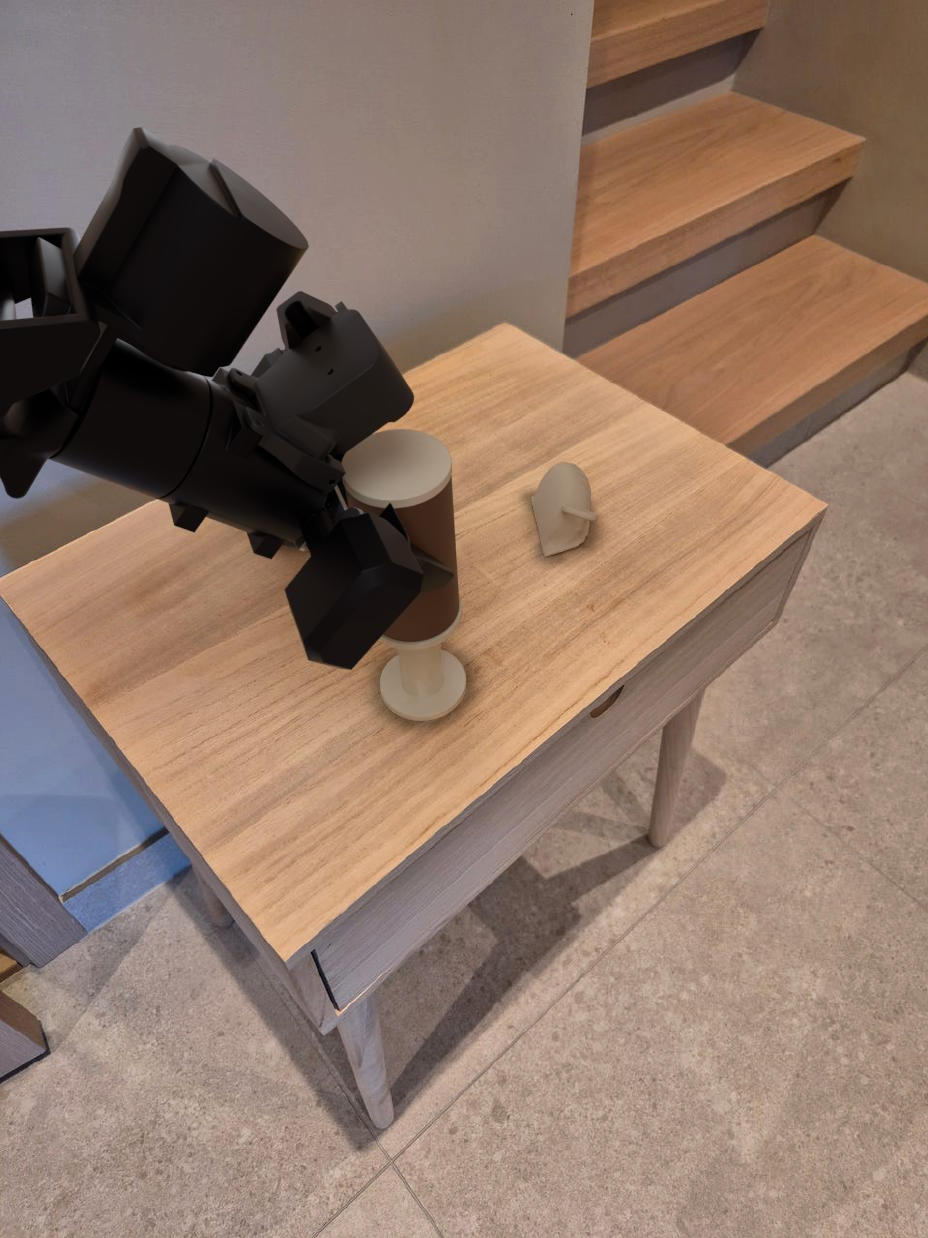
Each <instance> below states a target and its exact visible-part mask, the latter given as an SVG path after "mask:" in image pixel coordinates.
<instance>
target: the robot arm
mask: <svg viewBox="0 0 928 1238" xmlns="http://www.w3.org/2000/svg"><path fill="white" fill-rule="evenodd" d="M114 168H115V169H114V172H113V173H114V174H113V177H112V179H111V182H110V184H109V186H108V188H107V190H106V192H105V194H104V196H103V198H102V200H101V202H100V204H99V206H98V207H97V209H96V211H95V213H94V214H93V216H92V218H91V220H90V221H89V224H88V225H87V227H86V229H85V231H84V233H83V235H82V237H80V234H79V233H78V231H77V230H75V229H74V228H72V227H68V226H65V227H64V226H63V227H47V228H46V227H45V228H31V229H12V230H0V481H1V483H2V485H3V487H4V491H5V493H6V495H7V496H8V497H9V498H12V499H17V500H18V499H22V498H24V497H26V495H28V493H29V490H31V487H32V485H33V484H34V482H35V481H36V479H37V477H38V476H39V474H40V472H41V470H42V469H43V466H44V465H45V464H46V462H47V461H48V460H49V461H52V462H55V463H58V464H61V465H64V466H65V467H68V468H72V469H74V470H77V471H79V472H82V473H85V474H87V475H91V476H93V477H96V478H98V479H101V480H104V481H106V482H110V483H112V484H115V485H117V486H119V487H123V488H126V489H128V490H131V491H134V492H137V493H140V494H141V495H145V496H147V497H151V498H153V499H156V500H158V501H161V502H164V503H167V504H168V508H169V512H170V516H171V519H172V523H173V526H174V527H177V528H180V529H183V530H185V531H188V532H191V533H193V534H194V533H196V531H198V529H199V528H200V526H201V524H202V523H203V522H204V520H205V519H206V518H207V519H210V520H213V521H215V522H218V523H221V524H223V525H226V526H229V527H232V528H233V529H237V530H239V531H242V532H245V533H246V535H247V538H248V540H249V544H250V547H251V550H252V553H253V554H254V555H258V556H260V557H263V558H266V559H269V560H273V558H274V557H275V556H276V555H277V553H278V552H279V550H281V548H282V547H283V546H284V545H283V544H284V543H285V541H286V540H288V541H291V542H293V541H294V544H295V547H294V548H295V549H296V550H297V551H300V552H305V551H307V550H308V552H309V555H310V556H309V558H308V559H307V561H306V562H304V564H303V565H302V567H301V568H300V569H299V570H298V571H297V573H296V574H295V576H293V578H292V579H291V580H290V582H289V583H288V585H287V586H285V588H284V589H283V590H284V594H285V596H286V600H287V603H288V608H289V610H290V612H291V616H292V619H293V621H294V624H295V627H296V630H297V632H298V635H299V638H300V641H301V644H302V647H303V649H304V653H305V655H306V658H307V661H309V662H313V663H317V664H320V665H324V666H328V667H331V668H335V669H339V670H347V671H348V670H349V671H352V670H353V669H354V668H355V667H356V665H358V664H359V662H360V661H361V660H362V659H363V658H364V657H365V656H366V654H367V653H368V652H369V651H370V650H371V649H372V648H373V646H375V644H376V643H377V642H378V641H380V640H379V638H380V637H381V636H382V635H383V634H384V633H385V632H386V631H387V630H388V628H389V627H390V626H391V625H392V624H393V623H394V622H395V621H396V619H397V618H398V617H399V616H400V615H401V614H402V613H403V612H404V610H405V609H406V608H407V607H408V606H409V605H410V604H411V603H412V601H413V600H414V599H415V598H416V597H417V596H418V595H419V594H420V593H424V592H429V591H433V590H438V589H442V588H444V587H445V586H446V585H447V584H448V583H449V582H450V581H451V580H452V579H453V578H454V573H453V571H452V570H451V569H450V568H449V567H447V566H446V565H445V564H443V563H442V562H440V561H439V560H437V559H436V558H434V557H433V556H431V555H429V554H428V553H426V552H425V551H423V550H421V549H420V548H418V547H417V546H415V545H413V544H412V543H410V540H409V536H408V534H407V532H406V530H405V528H404V527H403V525H402V523H401V521H400V519H399V517H398V515H397V513H396V511H395V509H394V507H393V505H392V504H391V503H389V504H388V505H387V507H386V508H385V509H384V510H383V512H382V513H381V514H380V515H379V516H376V515H374V514H371V513H369V512H366V513H364V512H363V511H362V510H360V509H358V508H356V507H351V508H348V502H347V497H346V492H345V486H344V484H343V481H342V478H343V476H344V475H345V474H346V472H345V470H344V468H343V466H342V464H341V462H342V459H343V457H344V455H345V453H346V452H347V451H349V450H350V449H352V448H353V447H355V446H356V445H358V444H359V443H360V442H362V441H363V440H365V439H366V438H367V437H369V436H370V435H372V434H374V433H377V432H378V431H379V430H381V428H383V427H384V426H386V425H387V424H389V423H397V422H398V421H399V420H400V419H402V418H403V417H404V416H406V415H407V414H408V413H409V412H410V410H411V409H412V407H413V405H414V401H415V394H414V392H413V390H412V388H411V387H410V385H409V384H408V382H407V380H406V379H405V377H404V376H403V374H402V373H401V371H400V369H399V368H398V366H397V365H396V363H395V361H394V360H393V358H392V356H391V355H390V353H388V351H387V350H386V348H385V347H384V345H383V344H382V343H381V342H380V340H379V338H378V337H377V335H376V334H375V332H374V331H373V330H372V329H371V327H370V326H369V324H368V322H367V321H366V320H365V318H364V317H363V316H362V314H361V313H360V312H359V311H358V310H357V309H351V308H348V307H347V306H346V305H345V303H344V302H343V301H342V300H341V301H339V302H338V303H336V304H335V305H334V307H333V306H332V305H331V304H330V303H328V302H325V301H323V300H321V299H320V298H316V297H315V296H313V295H311V294H309V293H306V292H304V291H302V290H298V291H297V292H295V293H294V294H292V295H291V296H290V297H288V298H287V299H286V300H284V301H283V302H282V303H280V304H279V305H277V307H276V310H275V311H276V316H277V320H278V321H277V322H278V327H279V331H280V337H281V340H282V341H281V342H282V343H283V345H284V349H280V347H277V348H276V349H274V350H273V351H272V352H267V353H265V354H263V356H262V358H261V360H260V361H259V362H258V364H257V365H256V367H255V368H254V370H253V371H252V372H251V374H247V373H245V372H244V371H243V370H240V369H238V368H236V367H231V368H230V369H229V370H227V369H226V367H229V366H231V365H232V363H233V362H234V361H235V359H236V357H237V356H238V354H239V353H240V352H241V350H242V349H243V348H244V346H245V344H246V343H247V341H248V339H249V338H250V336H251V335H252V333H253V332H254V330H255V329H256V328H257V326H258V325H259V323H260V321H261V320H262V318H263V317H264V316H265V314H266V312H268V309H270V307H271V305H272V303H273V302H274V300H275V299H276V297H277V296H278V294H280V292H281V290H282V288H283V287H284V285H285V284H286V282H287V280H288V279H289V278H290V276H291V275H292V273H293V272H294V270H295V269H296V267H297V266H298V265H299V264H300V263H299V262H300V261H301V260H302V258H303V257H304V255H306V252H307V251H308V249H309V247H310V246H309V241H308V239H307V238H306V236H305V235H304V234H303V232H302V231H301V230H300V229H299V227H298V226H297V225H296V224H295V223H294V222H293V221H292V220H291V219H290V218H289V217H288V216H287V214H286V213H284V212H283V211H282V210H281V209H280V208H279V207H278V206H277V205H276V204H275V203H274V202H272V200H270V199H269V198H268V197H267V196H266V195H264V194H263V193H262V192H261V191H260V190H258V188H256V187H255V186H253V185H252V184H251V183H250V182H249V181H247V180H246V179H245V178H243V177H242V176H241V175H240V174H238V173H236V172H235V171H234V170H232V169H231V168H230V167H228V166H227V165H226V164H224V163H223V162H221V161H220V160H218V159H216V158H214V157H212V159H211V160H208V159H206V158H204V157H203V156H201V155H200V154H198V153H196V152H194V151H192V150H190V149H188V148H186V147H184V146H181V145H178V144H174V143H173V144H171V143H170V144H167V143H166V142H165V141H163V140H161V139H160V138H159V137H157V136H156V135H154V134H153V133H152V132H150V131H148V130H147V129H145V128H144V127H142V126H139V127H134V128H132V130H131V131H130V134H129V135H128V138H127V139H126V141H125V143H124V145H123V146H122V148H121V150H120V152H119V155H118V156H117V160H116V164H115V167H114ZM29 299H30V304H31V313H32V317H26V318H25V317H24V318H18V317H17V308H16V305H17V304H19V303H23V302H25V301H26V300H29ZM224 368H225V369H224ZM210 378H212V379H210Z"/></svg>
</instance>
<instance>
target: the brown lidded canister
mask: <svg viewBox="0 0 928 1238" xmlns="http://www.w3.org/2000/svg"><path fill="white" fill-rule="evenodd" d="M452 460H453V459H452V455H451V452H450V450H449V449H448V447H447V446H446V444H444V442H443V441H442V440H441V439H439V438H437V437H436V436H435V435H432V434H430V433H428V432H424V431H421V430H416V429H410V428H392V429H387V430H381V431H376V432H374V433H373V434H372V435H370V436H369V437H367V438H366V439H365V440H363V441H362V442H360V443H359V444H358V445H356V446H355V447H353V448H352V449H350V450H349V451H347V452H346V453H345V455H344V457H343V459H342V462H341V464H342V466H343V468H344V470H345V472H346V474H345V475H344V476H343V478H342V481H343V484H344V486H345V492H346V497H347V502H348V508H351V507H356V508H358V509H360V510H362V511H363V512H364V513H366V512H369V513H371V514H374V515H376V516H379V515H380V514H381V513H382V512H383V510H384V509H385V508H386V507H387V505H388V504H389V503H391V504H392V505H393V507H394V509H395V511H396V513H397V515H398V517H399V519H400V521H401V523H402V525H403V527H404V528H405V530H406V532H407V534H408V536H409V540H410V543H412V544H413V545H415V546H417V547H418V548H420V549H421V550H423V551H425V552H426V553H428V554H429V555H431V556H433V557H434V558H436V559H437V560H439V561H440V562H442V563H443V564H445V565H446V566H447V567H449V568H450V569H451V570H452V571H453V573H454V578H453V579H452V580H451V581H450V582H449V583H448V584H447V585H446V586H445V587H444V588H442V589H438V590H433V591H429V592H424V593H420V594H419V595H418V596H417V597H416V598H415V599H414V600H413V601H412V603H411V604H410V605H409V606H408V607H407V608H406V609H405V610H404V612H403V613H402V614H401V615H400V616H399V617H398V618H397V619H396V621H395V622H394V623H393V624H392V625H391V626H390V627H389V628H388V630H387V631H386V632H385V633H384V634H383V635H385V636H387V637H389V638H391V639H394V640H398V641H403V642H418V641H424V640H428V639H431V638H433V637H435V636H438V635H439V634H441V633H443V632H444V631H445V630H447V629H448V628H449V627H450V626H451V625H452V623H453V622H454V621H455V619H456V617H457V615H458V612H459V595H460V590H459V576H458V575H459V574H458V573H459V572H458V561H457V560H458V559H457V558H458V557H457V539H456V525H455V523H456V522H455V508H454V493H453V492H454V491H453V475H452V473H453V461H452Z"/></svg>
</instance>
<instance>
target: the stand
mask: <svg viewBox="0 0 928 1238" xmlns="http://www.w3.org/2000/svg"><path fill="white" fill-rule="evenodd" d="M462 618H463V601H462V598H461V595H460V594H459V612H458V615H457V617H456V619H455V621H454V622H453V623H452V625H451V626H450V627H449V628H448V629H447V630H445V631H444V632H443V633H441V634H439V635H438V636H435V637H433V638H431V639H428V640H424V641H418V642H403V641H398V640H394V639H391V638H389V637H387V636H385V635H382V636H381V637H380V638H379V640H378V641H379V642H381V643H382V644H384V645H386V646H388V647H390V648H393V649H396V652H397V654H396V655H395V656H394V657H392V658H391V659H390V660H389V661H388V662H387V664H386V665H385V666H384V668H383V669H382V672H381V675H380V678H379V690H380V695H381V698H382V700H383V703H384V704H385V705H386V707H387V708H388V709H389V710H390V711H391V712H393V713H394V714H395V715H397V716H398V717H401V718H403V719H405V720H409V721H414V722H429V721H433V720H437V719H440V718H442V717H443V718H444V717H445V716H447V715H448V714H450V713H451V712H453V711H454V710H456V708H457V707H458V706H459V705H460V704H461V702H462V700H463V699H464V697H465V694H466V691H467V674H466V670H465V668H464V666H463V664H462V663H461V661H460V660H459V659H458V658H457V657H456V656H455V655H453V654H452V653H451V652H449V651H447V650H445V649H442V643H443V642H445V641H447V640H448V639H449V638H451V636H452V635H454V633H455V632H456V631H457V629H458V628H459V626H460V624H461V621H462Z"/></svg>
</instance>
